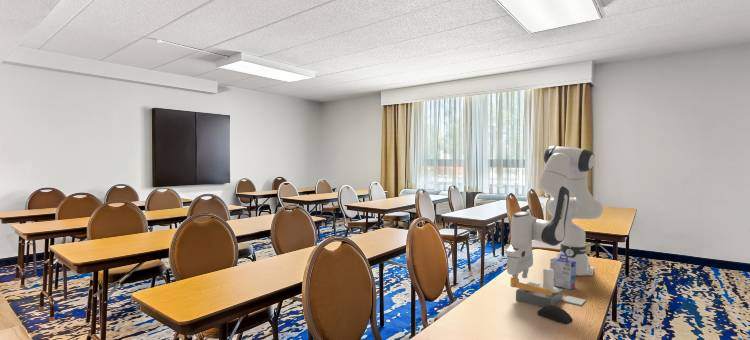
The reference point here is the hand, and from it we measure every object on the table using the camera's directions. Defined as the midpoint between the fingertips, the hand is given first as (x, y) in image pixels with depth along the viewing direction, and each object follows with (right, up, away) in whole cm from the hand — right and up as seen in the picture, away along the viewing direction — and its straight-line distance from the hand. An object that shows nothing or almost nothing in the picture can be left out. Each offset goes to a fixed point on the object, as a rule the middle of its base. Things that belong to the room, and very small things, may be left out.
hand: (520, 280), depth 168 cm
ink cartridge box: (+24, -6, +10) cm, 26 cm away
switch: (+6, -6, -6) cm, 10 cm away
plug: (+9, -6, -7) cm, 13 cm away
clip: (0, -1, -11) cm, 11 cm away
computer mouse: (+4, -8, -24) cm, 26 cm away
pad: (+19, -6, -8) cm, 22 cm away
